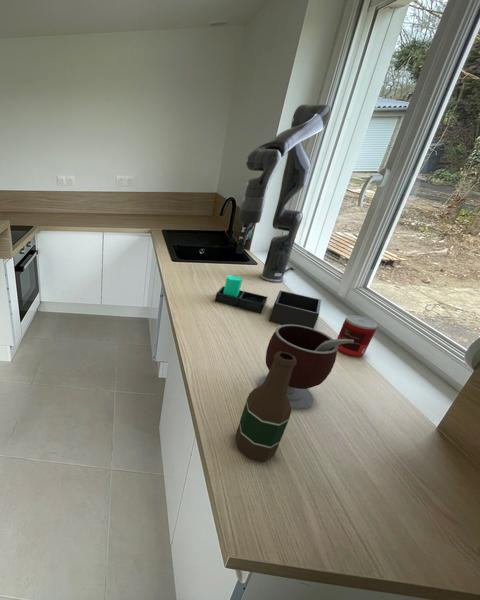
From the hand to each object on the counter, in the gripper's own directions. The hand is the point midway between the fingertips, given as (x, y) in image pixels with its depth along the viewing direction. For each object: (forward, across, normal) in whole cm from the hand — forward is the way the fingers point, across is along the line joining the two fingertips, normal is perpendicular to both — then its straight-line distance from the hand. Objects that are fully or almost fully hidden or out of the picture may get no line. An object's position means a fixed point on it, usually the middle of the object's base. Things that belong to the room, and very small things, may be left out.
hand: (241, 250), depth 126 cm
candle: (+22, 0, 0) cm, 22 cm away
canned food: (+22, -15, -40) cm, 48 cm away
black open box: (+22, -2, -23) cm, 32 cm away
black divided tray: (+22, 0, -4) cm, 22 cm away
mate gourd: (+22, -50, -27) cm, 61 cm away
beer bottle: (+22, -74, -23) cm, 81 cm away
